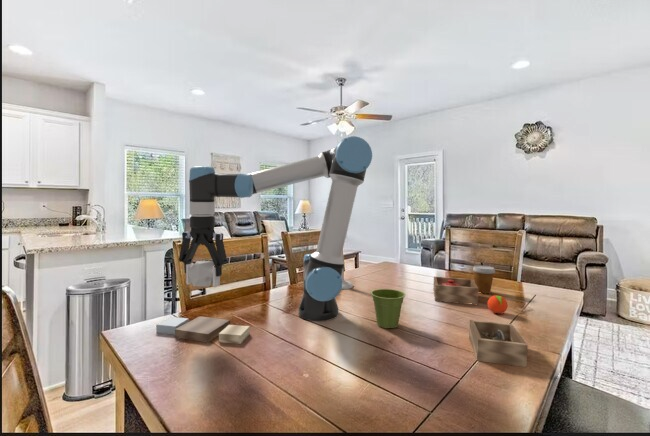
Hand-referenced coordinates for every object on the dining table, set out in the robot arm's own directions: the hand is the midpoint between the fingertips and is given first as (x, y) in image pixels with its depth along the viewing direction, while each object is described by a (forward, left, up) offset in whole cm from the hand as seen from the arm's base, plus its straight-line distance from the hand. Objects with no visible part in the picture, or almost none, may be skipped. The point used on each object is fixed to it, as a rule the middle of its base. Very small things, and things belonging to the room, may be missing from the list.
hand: (203, 284), depth 107 cm
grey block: (+11, +1, -16) cm, 19 cm away
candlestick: (-30, -68, -16) cm, 76 cm away
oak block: (-12, +1, -16) cm, 20 cm away
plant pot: (-57, -24, -16) cm, 64 cm away
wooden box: (-83, -65, -16) cm, 107 cm away
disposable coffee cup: (-97, -78, -16) cm, 125 cm away
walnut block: (0, 0, -16) cm, 16 cm away
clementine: (-97, -48, -16) cm, 109 cm away
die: (0, 0, 0) cm, 0 cm away
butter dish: (-81, -64, -16) cm, 105 cm away
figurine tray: (-89, -13, -16) cm, 91 cm away
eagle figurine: (-90, -12, -16) cm, 92 cm away
